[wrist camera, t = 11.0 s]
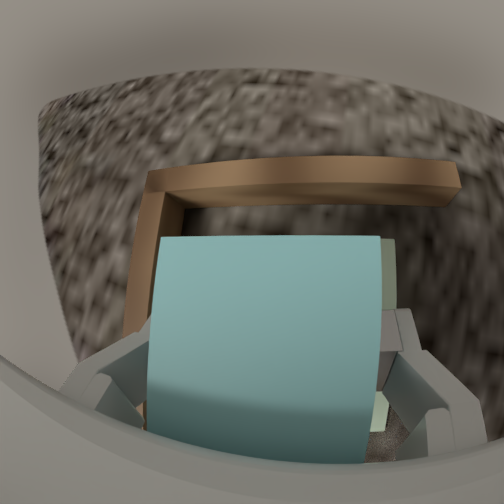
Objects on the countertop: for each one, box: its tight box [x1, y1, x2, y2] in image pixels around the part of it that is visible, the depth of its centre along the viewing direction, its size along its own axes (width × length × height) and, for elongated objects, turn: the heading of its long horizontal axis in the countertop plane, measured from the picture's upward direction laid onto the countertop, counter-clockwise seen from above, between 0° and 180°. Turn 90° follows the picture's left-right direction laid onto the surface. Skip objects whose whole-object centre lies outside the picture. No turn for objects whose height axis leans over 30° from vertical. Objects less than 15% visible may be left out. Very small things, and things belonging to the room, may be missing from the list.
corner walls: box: [122, 156, 462, 431], centre depth 13 cm, size 17×15×2 cm
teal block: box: [147, 235, 382, 464], centre depth 9 cm, size 4×4×8 cm
